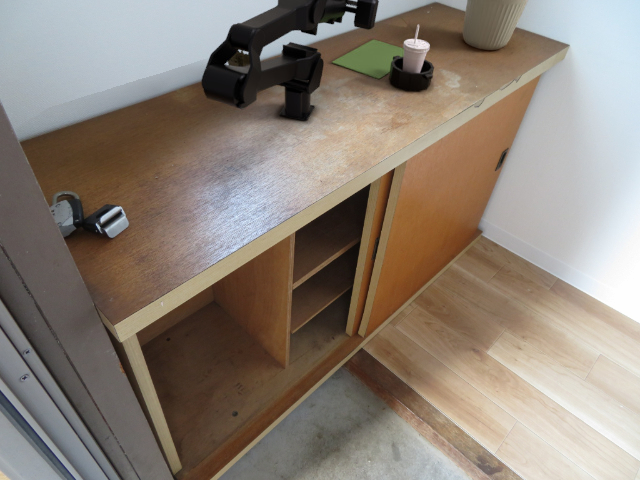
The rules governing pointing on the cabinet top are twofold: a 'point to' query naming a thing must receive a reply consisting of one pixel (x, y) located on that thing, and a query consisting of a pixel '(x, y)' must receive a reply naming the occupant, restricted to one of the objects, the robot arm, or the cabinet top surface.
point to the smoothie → (414, 53)
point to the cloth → (371, 58)
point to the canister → (491, 22)
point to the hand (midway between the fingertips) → (350, 4)
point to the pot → (410, 76)
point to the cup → (240, 60)
